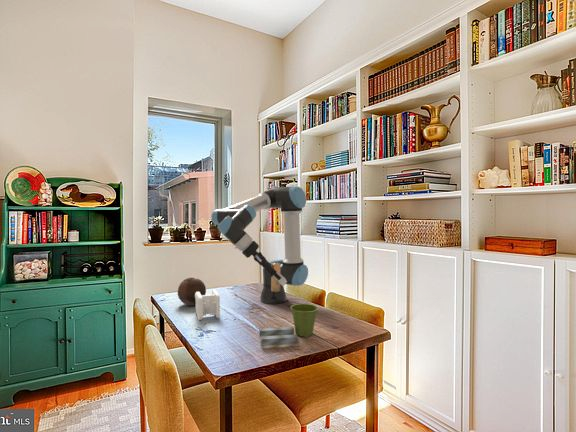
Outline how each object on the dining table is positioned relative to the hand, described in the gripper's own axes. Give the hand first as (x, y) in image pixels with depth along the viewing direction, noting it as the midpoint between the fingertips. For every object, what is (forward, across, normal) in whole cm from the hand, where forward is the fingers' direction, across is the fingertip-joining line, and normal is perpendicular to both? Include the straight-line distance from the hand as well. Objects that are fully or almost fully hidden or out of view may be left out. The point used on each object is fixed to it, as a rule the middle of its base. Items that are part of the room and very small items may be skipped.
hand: (284, 282), depth 155 cm
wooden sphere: (-18, -42, -48) cm, 66 cm away
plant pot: (+19, +10, -9) cm, 23 cm away
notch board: (+11, +17, -17) cm, 26 cm away
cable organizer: (-11, -20, -40) cm, 46 cm away
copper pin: (0, 0, -5) cm, 5 cm away
